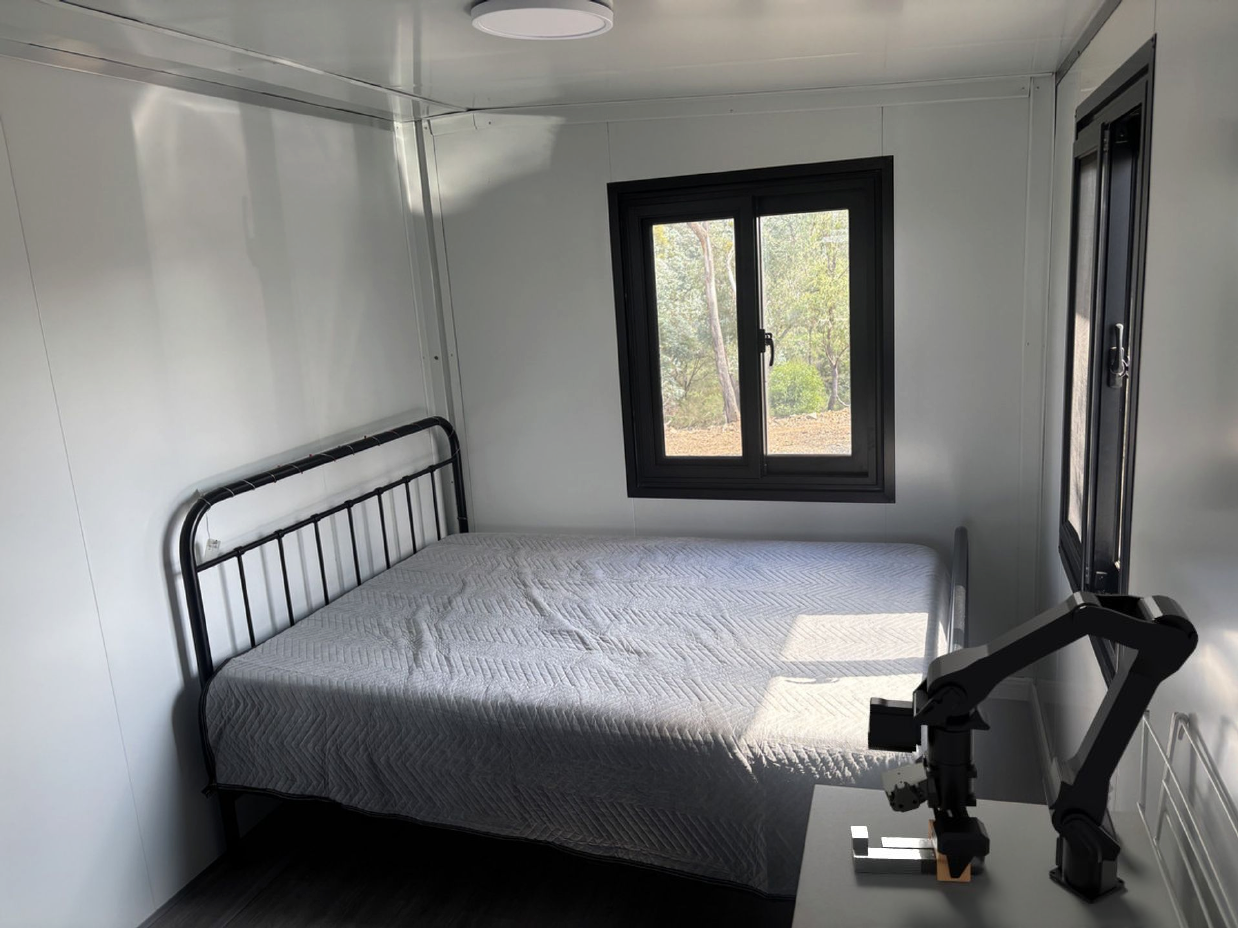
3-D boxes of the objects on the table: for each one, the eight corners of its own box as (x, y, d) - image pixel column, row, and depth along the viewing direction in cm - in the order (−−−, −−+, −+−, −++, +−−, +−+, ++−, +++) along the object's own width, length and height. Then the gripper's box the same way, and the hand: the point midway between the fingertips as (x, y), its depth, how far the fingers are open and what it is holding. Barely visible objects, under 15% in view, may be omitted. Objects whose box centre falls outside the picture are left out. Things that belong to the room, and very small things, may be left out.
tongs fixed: (980, 855, 129) (981, 839, 128) (988, 875, 125) (988, 859, 124) (881, 852, 131) (881, 837, 130) (885, 872, 127) (885, 856, 126)
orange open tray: (959, 846, 130) (959, 819, 130) (970, 881, 124) (970, 853, 123) (928, 845, 131) (928, 819, 130) (937, 880, 124) (938, 852, 123)
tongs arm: (946, 853, 129) (946, 828, 129) (952, 874, 125) (952, 849, 124) (851, 850, 131) (851, 826, 131) (854, 871, 127) (854, 846, 126)
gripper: (877, 717, 134) (878, 815, 137) (895, 794, 116) (896, 904, 119) (960, 717, 132) (959, 817, 136) (991, 795, 114) (989, 907, 118)
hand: (949, 858), depth 127 cm, fingers closed on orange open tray, 7 cm apart
